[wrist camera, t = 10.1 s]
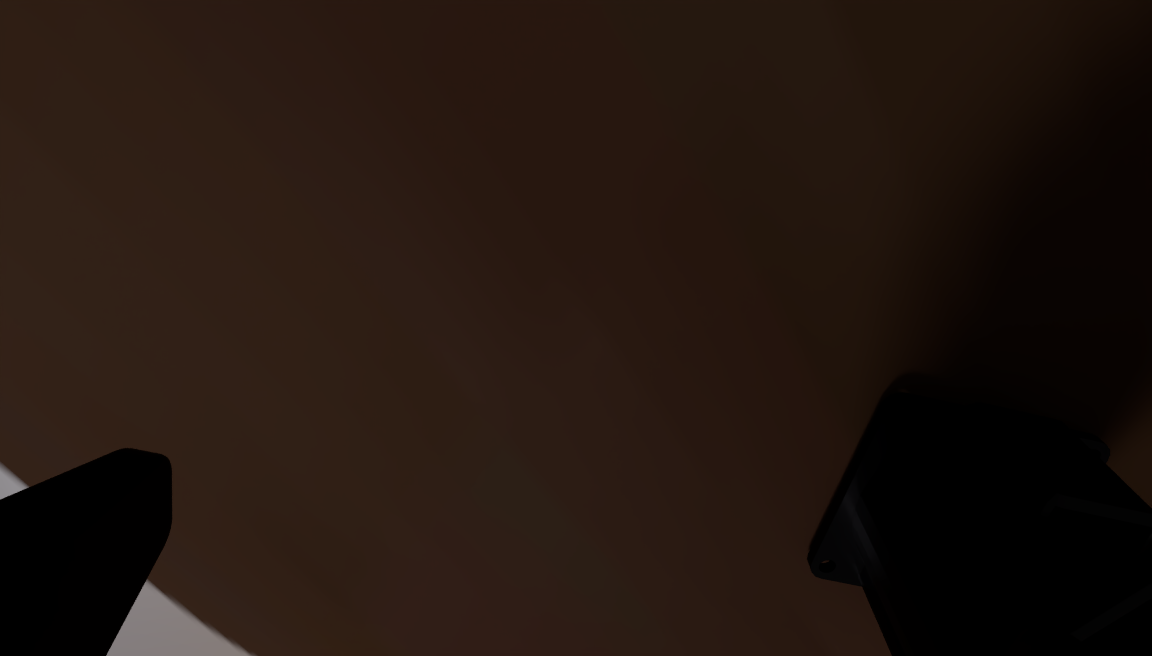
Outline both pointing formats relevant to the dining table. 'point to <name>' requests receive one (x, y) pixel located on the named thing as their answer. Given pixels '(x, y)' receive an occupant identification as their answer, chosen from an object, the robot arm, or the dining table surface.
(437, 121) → the dining table surface
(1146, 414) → the dining table surface
